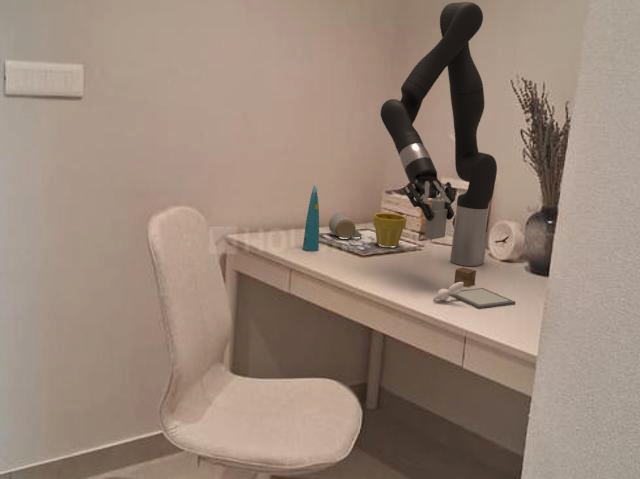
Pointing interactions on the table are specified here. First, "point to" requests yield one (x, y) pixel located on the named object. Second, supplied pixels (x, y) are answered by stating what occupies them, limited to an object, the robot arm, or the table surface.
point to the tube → (312, 224)
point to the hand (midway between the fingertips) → (441, 218)
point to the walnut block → (465, 276)
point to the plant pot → (389, 228)
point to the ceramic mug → (343, 226)
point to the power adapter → (437, 220)
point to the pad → (482, 298)
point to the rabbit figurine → (449, 291)
